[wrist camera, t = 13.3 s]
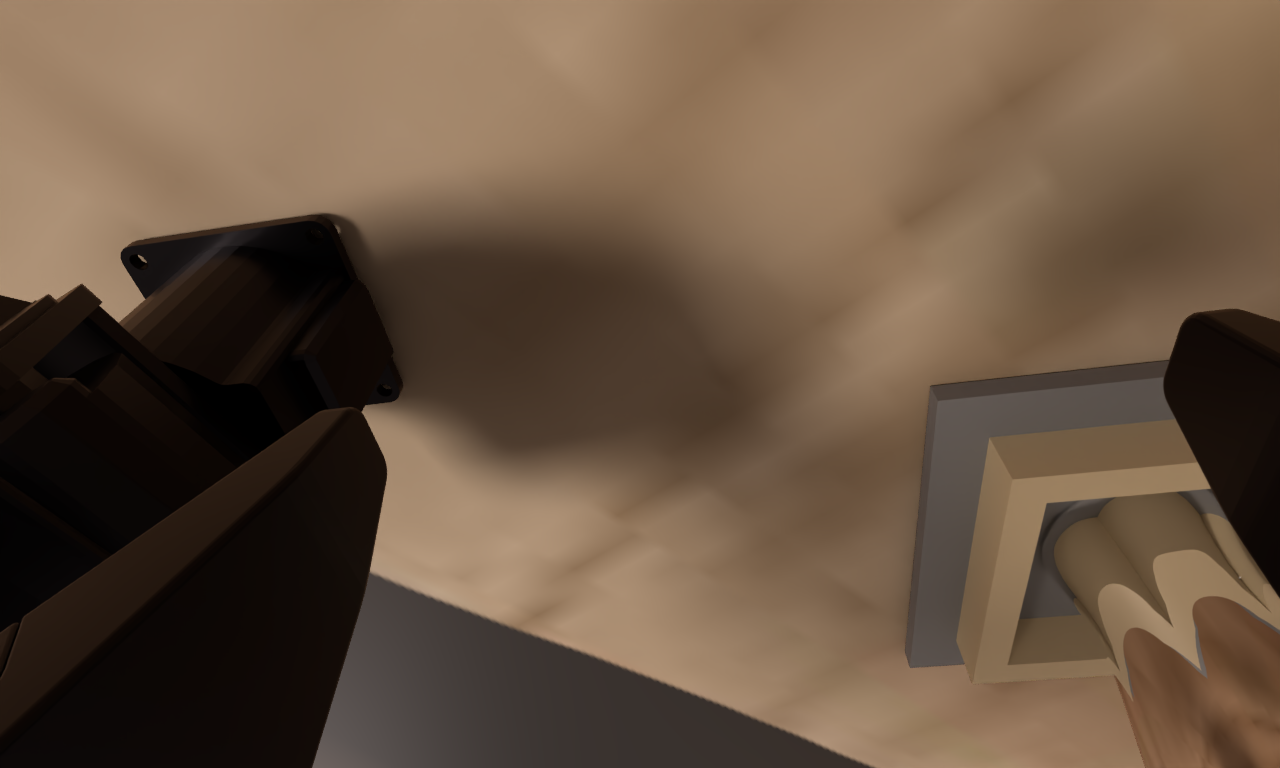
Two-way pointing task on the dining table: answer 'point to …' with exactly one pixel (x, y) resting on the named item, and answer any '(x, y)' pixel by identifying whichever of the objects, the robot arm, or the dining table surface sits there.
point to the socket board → (1027, 511)
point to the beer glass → (1177, 624)
